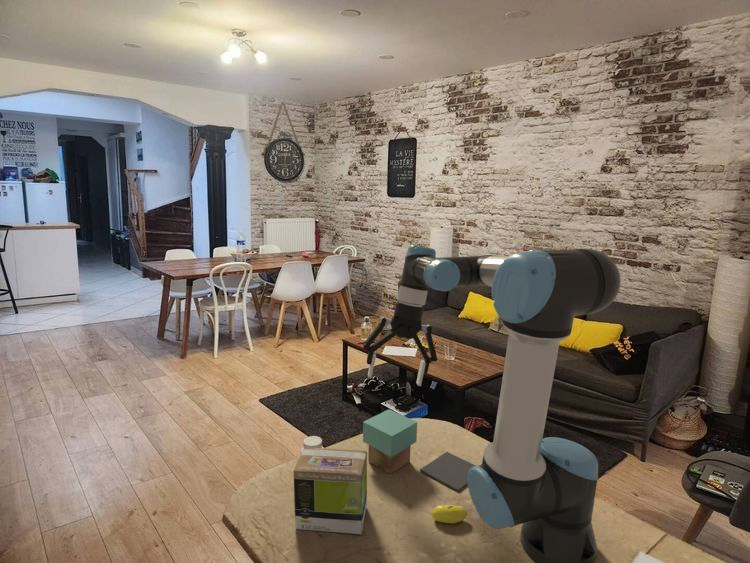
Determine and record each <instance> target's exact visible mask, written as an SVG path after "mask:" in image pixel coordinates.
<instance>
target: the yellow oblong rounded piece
mask: <svg viewBox="0 0 750 563" xmlns="http://www.w3.org/2000/svg"><path fill="white" fill-rule="evenodd" d="M467 516H468V511H467V510H466V508H464V506H462V505H454V504H442V505H439V504H438V505H437V506H435V507H434V508H433V509H432V513H431V517H432V518H433V520H434V521H437V522H440V523H442V524H443V523H444V524H453V525H454V524H457V523H460V522H462V521H464V520H466V518H467Z"/></svg>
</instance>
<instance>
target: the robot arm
mask: <svg viewBox="0 0 750 563" xmlns="http://www.w3.org/2000/svg"><path fill="white" fill-rule="evenodd" d="M436 256H437V253H436V249H434V248H430V247H426V246H422V245H418V244H411V245H409V246H408V247H407V251H406V255H405V257H404V263H403V264H404V265H403V268H402V269H403V270H402V275H401V280H400V284H399V287H398V292H397V297H396V298H397V302H396V303H395V307H394V310H393V311H394V312H393V316H392V318H387V317H385V316H383V315H382V316H381V317H380V319H379V322H378V324H377V326H375V328H374V329H373V331H372V332H371V333H370V335H369V336H368V337H367V339H366V340H365V341H364V342H363V344H362V348H363V349H364V350H365V351H367V352H368V353H367V356H366V363H367V365H369V367H368V371H367V378H368V379H372V378H373V372H374V369H375V368H374V367H375V363H376V358H377V353H376V351H378V349H380V348H381V347H382V346H384V345H385V344H386V343H387V342H389V341H390V340H391V339H393V338H394V337H398V338H400V339H402V338H404V339H407V340H410V339H413V341H414V343H415V345H416V346H417V349H418V351H419V352H420V354H421V355H422V358H423V359H421V360H420V363H419V367H418V372H417V378H416V385H417V386H418V387H422V383H423V378H424V375H426V374H428V372H429V368H430V365H431V363H432V362H437V361H438V356H437V352H436V347H435V344H434V339H433V336H432V333H433V332H432V331H433V327H432V326H431V325H430V324H429V323H428V324H422V321H423V315H424V310H425V308H424V307H423V306H425V305H426V301H427V296H428V292H429V288H431V289H432V290H435V291H439V292H440V291H441V292H449V291H451V290H453V289H454V288H464V287H472V286H473V287H475V286H478V287H479V286H480V287H481V286H482V287H491V299H492V300H494V302H493V308H494V310H495V312H496V314H497V315H498V316H499V318H501V324H502V327H503V328H504V329H506V331H507V332H508V338H507V344H506V351H505V352H506V353H505V358H504V366H503V374H502V378H501V379H502V381H501V386H500V388H501V389H500V393H499V400H498V401H499V402H498V405H497V406H498V407H497V413H496V420H495V421H496V423H495V426H494V427H495V428H494V434H493V442H490V443H488V444H487V445H486V446H485V448H484V450H483V456H482V461H481V464H474V465H475V466H474V467H472V468H471V469H470V470H469V472H468V476H467V482H468V485H467V488H468V492H469V495H470V499H471V500H472V501H471V502H472V505H473V506H474V509H475V510H476V512H477V514H478V515H479V517H480V519H482V521H483V522H484V523H485V524H486V525H488V527H490V528H493V529H497V530H501V529H507V528H510V529H511V528H513V527H514V526H519V525H521V529H520V543H521V546H522V547H523V550H524V551H525V553H526V554H527V555H528V556H529V557H530V558H531V559H532V560H533V561H535V562H536V563H596V560H597V553H598V544H597V540H596V537H595V531H594V528H593V523H592V521H593V520H592V518H593V512H594V507H595V506H594V504H595V498H596V492H597V486H598V480H599V473H598V472H599V461H598V459H597V457H596V456H595V454H594V453H593V452H592V451H590V450H589V449H588V448H587V447H585V446H583V445H582V444H579V443H577V442H576V441H572V440H569V439H566V438H561V437H558V436H557V437H556V436H550V437H544V432H545V425H546V420H547V415H548V408H549V404H550V399H551V392H552V387H553V382H554V377H555V370H556V364H557V359H558V353H559V348H560V343H561V341H564V340H566V339H567V338H569V337H570V336H571V334H572V329H573V324H574V319H575V317H577V316H585V315H591V314H595V313H598V312H601V311H602V310H604V309H607V307H609V306H610V305H611V304H612V303H613V302H614V301H615V299H616V298H617V296H618V294H619V291H620V288H621V281H622V279H621V274H620V270H619V268H618V265H617V264H616V263H615V262H614V260H613V259H612V258H611V257H609V256H608V255H607V254H606V253H603V252H601V251H599V250H596V249H592V248H591V249H590V248H576V249H573V248H571V249H546V250H545V249H543V250H542V249H541V250H540V249H531V250H527V251H522V252H520V251H519V252H516V253H513V254H510V255H509V256H507V255H505V256H502V255H496V254H484V255H473V256H472V255H471V256H449V257H448V256H445V257H436ZM388 325H390V326H391V329H389V330H388V331H387V332H386V333H385V334H384V335H382V336H381V337H380V338H379V339H378V340H376V339H377V338H378V337H379V335H380V334H381V332H382V331H383V329H384V328H385V327H387V326H388ZM420 331H422V332H423V333H424V335H425V339H426V343H427V346H428V351H429V354H428V353H427V351H426V348H425V347H424V346H423V343H422V341H421V339H420V338H419V336H418V333H419V332H420ZM375 340H376V341H375Z"/></svg>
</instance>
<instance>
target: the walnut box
mask: <svg viewBox="0 0 750 563" xmlns="http://www.w3.org/2000/svg"><path fill="white" fill-rule="evenodd" d="M411 446H412V445H410V446H409V447H407V448H405V449H404V450H402V451H400V452H399V453H397V454H395V455H394V456H392V457H390V456H389V455H387V454H385V453H383V452H381V451H379V450H377V449H376V448H374V447H372V446H370V445H368V450H367V462H368V461H369V462H368V463H369V464H372V465H373V464H374V465H373V466H375V465H376V466H375V467H377V468H379V469H380V468H381V469H380V470H382V471H383V472H386V473H387V472H388V474H389V473H390V474H389V475H392V474H393V473H394V471H395V472H396V471H397V469H398V470H399V469H400V468H402V467H405V465H407V464H408V463H410V462H411ZM392 472H393V473H392Z"/></svg>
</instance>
